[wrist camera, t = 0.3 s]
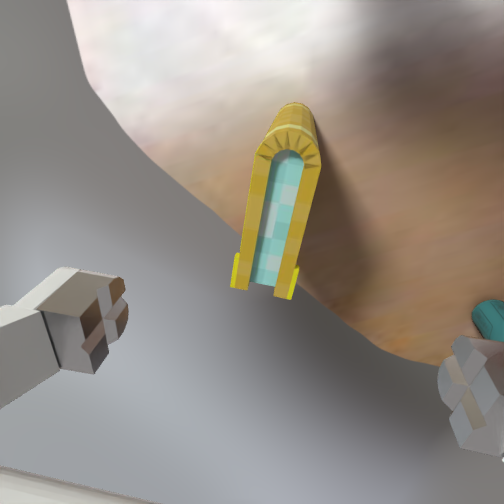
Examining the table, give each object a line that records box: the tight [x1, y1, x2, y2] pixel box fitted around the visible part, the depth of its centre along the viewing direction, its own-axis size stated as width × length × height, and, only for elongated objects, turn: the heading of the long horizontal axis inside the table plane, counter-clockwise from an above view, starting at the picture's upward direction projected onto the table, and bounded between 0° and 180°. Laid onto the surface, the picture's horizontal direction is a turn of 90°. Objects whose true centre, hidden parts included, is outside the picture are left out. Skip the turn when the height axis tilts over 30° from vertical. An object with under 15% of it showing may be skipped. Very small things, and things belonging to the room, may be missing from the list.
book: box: [230, 102, 321, 300], centre depth 43 cm, size 17×7×25 cm, turn 171°
